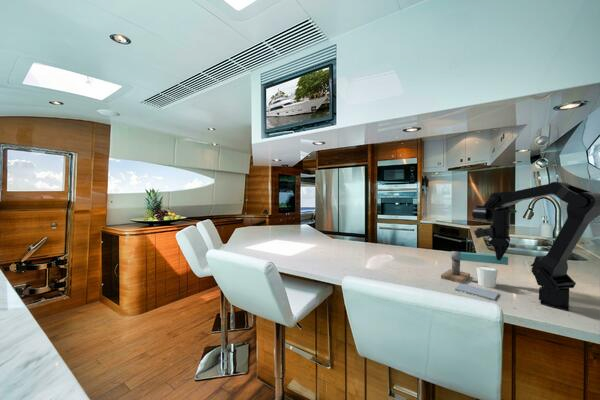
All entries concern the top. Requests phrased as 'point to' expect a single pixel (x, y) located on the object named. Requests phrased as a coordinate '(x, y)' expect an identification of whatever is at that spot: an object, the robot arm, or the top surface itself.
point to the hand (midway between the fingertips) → (498, 260)
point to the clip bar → (478, 258)
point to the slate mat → (477, 291)
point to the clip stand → (455, 273)
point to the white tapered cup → (487, 276)
